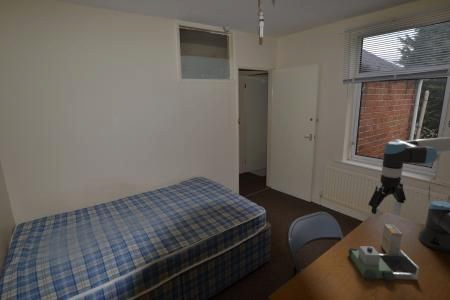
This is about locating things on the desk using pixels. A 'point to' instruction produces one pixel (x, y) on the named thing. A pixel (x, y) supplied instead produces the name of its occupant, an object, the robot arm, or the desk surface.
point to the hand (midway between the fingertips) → (385, 216)
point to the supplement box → (391, 239)
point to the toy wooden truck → (370, 263)
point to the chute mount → (401, 265)
